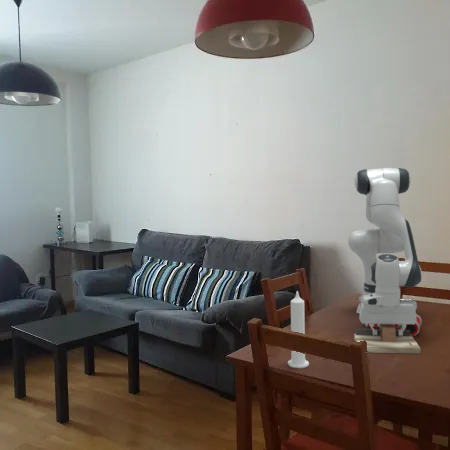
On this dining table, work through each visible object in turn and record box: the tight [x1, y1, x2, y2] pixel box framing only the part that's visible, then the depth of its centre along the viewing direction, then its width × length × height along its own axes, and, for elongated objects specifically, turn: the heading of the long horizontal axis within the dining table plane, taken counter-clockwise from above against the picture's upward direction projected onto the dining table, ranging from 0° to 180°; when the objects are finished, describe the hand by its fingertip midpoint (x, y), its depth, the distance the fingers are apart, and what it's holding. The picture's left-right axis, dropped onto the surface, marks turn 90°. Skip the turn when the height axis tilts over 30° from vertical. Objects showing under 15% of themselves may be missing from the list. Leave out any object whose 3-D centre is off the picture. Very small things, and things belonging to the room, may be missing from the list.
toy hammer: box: [361, 313, 423, 337], centre depth 203 cm, size 23×12×6 cm, turn 65°
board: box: [353, 328, 421, 355], centre depth 183 cm, size 16×21×4 cm
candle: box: [287, 290, 310, 369], centre depth 166 cm, size 7×7×25 cm
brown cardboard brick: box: [379, 324, 397, 342], centre depth 185 cm, size 7×4×5 cm, turn 171°
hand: (387, 335), depth 185 cm, fingers open, 8 cm apart
